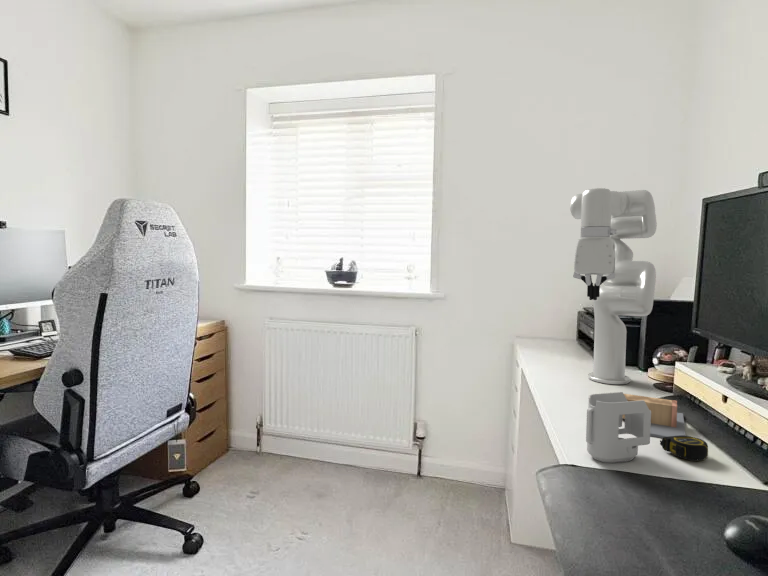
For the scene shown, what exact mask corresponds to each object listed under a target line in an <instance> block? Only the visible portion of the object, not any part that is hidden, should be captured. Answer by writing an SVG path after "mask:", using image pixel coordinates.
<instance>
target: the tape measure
mask: <svg viewBox="0 0 768 576" xmlns="http://www.w3.org/2000/svg"><path fill="white" fill-rule="evenodd" d="M659 446H661V447H662V449H663V450H664V451H666V452H668V453H671V454H672V455H674V456H676V457H678V458H680V459H684V460H690V461H704V460H706V459H707V458H708V456H709V446H708V443H707V442H706V441H705V440H703V439H701V438H698V437H694V436H690V435H686V434H685V435H679V436H668V437H663V438H661V439H660V440H659Z"/></svg>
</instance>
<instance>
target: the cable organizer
mask: <svg viewBox="0 0 768 576" xmlns="http://www.w3.org/2000/svg"><path fill="white" fill-rule="evenodd" d="M623 393H624V392H623V391H617V392H615V391H614V392H606V393H605V392H604V393H603V392H602V393H593V394H590V395H588V402H587V404H588V405H587V410H586V426H585V427H586V428H585V430H586V433H585V441H586V451H587V453H588V454H589V455H590V456H591V457H592V458H593V459H595V460H597V461H599V462H603V463H608V464H609V463H612V464H613V463H618V462H619V463H620V462H621V463H622V462H623V463H624V462H625V463H626V462H630V461H632V460H633V459H634V458H636V457H637V456H638V455H639V452H638V451H639V446H648V445H650V443H651V436H650V429H651V411H650V410H649V409H648V407H647V405H646V403H645V401H644V400H640V401H627V399H626V397H625V396H624V394H625V393H624V394H623ZM624 414H625V419H624V427H623V418H622V415H624ZM621 427H623V428H621ZM625 434H627V435H632V436H634V437H628V438H625V437H624V438H623V437H619V435H625Z"/></svg>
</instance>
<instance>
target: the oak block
mask: <svg viewBox="0 0 768 576" xmlns="http://www.w3.org/2000/svg"><path fill="white" fill-rule="evenodd" d="M623 394H624V396H625V397H626V399H627V401H640V400H644V401H645V403H646V405H647V407H648V409H649V410H650V411H651V423H653V424H659V425H665V426H671V427H676V425H677V413H678V400H673V399H666V398H665V399H664V398H658V397H651V396H644V395H636V394H630V393H624V392H623ZM623 419H624V420H625V414H624V415H622V420H623Z"/></svg>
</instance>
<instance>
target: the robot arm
mask: <svg viewBox="0 0 768 576" xmlns="http://www.w3.org/2000/svg"><path fill="white" fill-rule="evenodd" d="M569 210H570V214H571V216H572V217H573V218H574V219H576V220H580V238H579V239H577V241H576V246H575V254H574V262H573V263H574V264H573V267H574V268H573V271H574V272H573V279H577V280H582V281H583V282H584V283H585V285H586V286H587V287H586V288H587V291H586V293H587V294H586V295H587V298H588V299H589V300H590V301H592V305H593V316H594V337H593V339H594V341H593V342H594V343H593V347H594V348H593V366H592V367H593V371H590V372H588V374H587V377H588V379H589V380H591V381H593V382H597V383H601V384H608V385H626V384H629V383H630V382H631V377H629V376H627V375H626V355H627V354H626V353H627V351H626V350H627V333H628V331H627V326H626V325H625V323H624V322H623V320H622V319H621V318H620V317H619V316H631V317H647V316H648V315H650V314H651V313H652V311H653V306H654V299H655V290H656V282H657V279H656V278H657V271H656V268H655V265H654V264H653V263H652V262H650V261H646V260H633V259H634V252H633V250H632V249H631V247H630V246H628V245H627V243H626V242H624V241H622V240H623V239H624V240H625V239H649V238H652V237H653V236H654V235H655V234H656V232H657V225H658V223H657V215H656V206H655V200H654V197H653V195H652V193H651V192H650V191H649V190H646V189H640V190H627V191H626V190H625V191H624V190H623V191H617V190H616V191H615V190H610V189H609V188H606V187H605V188H602V187H601V188H599V187H597V188H588V189H586V190H584V191H583V192H582V193H576V194H574V196H573V197H572V198H571V201H570V204H569ZM621 239H622V240H621ZM593 275H594V276H595V275H596V278H595V283H593V278H592V276H593ZM602 284H603V285H602Z"/></svg>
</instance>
